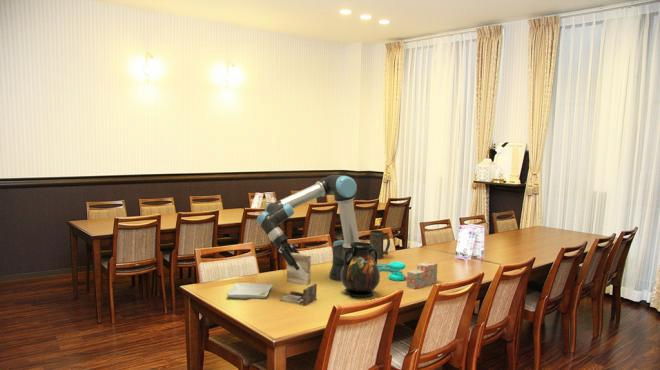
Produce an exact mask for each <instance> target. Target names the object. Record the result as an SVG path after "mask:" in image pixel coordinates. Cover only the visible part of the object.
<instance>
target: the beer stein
mask: <svg viewBox="0 0 660 370" xmlns="http://www.w3.org/2000/svg"><path fill="white" fill-rule="evenodd" d="M384 239H386V240H387V242H386V247H385V250H384ZM369 243H371V244H372V245H373V248H374V249H376V251H377V253H378V258H377V260H383V259H384V255H386V256H388V254H389V252H388V251H389V249H390V246H391V239H390V234H385V235H384V231H383V230H378V229H372V230H370V231H369ZM370 249H372V248H370ZM370 256H371V257H372V258H373V259H374V260H375V252H374V251H372V252H371V255H370Z"/></svg>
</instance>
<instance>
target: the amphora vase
mask: <svg viewBox="0 0 660 370" xmlns="http://www.w3.org/2000/svg"><path fill="white" fill-rule="evenodd" d="M350 247H352V248H353V250H351V249H347V250H346V251H345V254H344V265H343V267H342V270H341V281H340V282H341V283H342V285H343V287H344V288H345V289H344V294H345V295H347V296H349V297H350V298H352V299H353V298H355V299H368V298H372V297H374V295H375V289H376V288H377V287H378V285H380V281H381V280H380V279H381V271H380V272H379V269H378V266H377V264H378V259H377V258H378V253H377V251H376V249H374V248H373V245H372V244H371V243H370V242H366V241H361V242H353V243H350ZM370 248H372V249H370ZM350 251H351V253H352V255H351V256H350V257H349V258H348V259H347V254H348V252H350ZM372 251H374V252H375V259H373V258H372V257H371V256H370V255H371V252H372Z"/></svg>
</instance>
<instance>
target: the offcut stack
mask: <svg viewBox="0 0 660 370" xmlns="http://www.w3.org/2000/svg"><path fill="white" fill-rule="evenodd" d="M285 294H286V295H285ZM285 294H284V295H283V297H282V299H283V301H284V303H288V302H289V303H288V304H293V303H294V305H298V304H299V305H298V306H301V305H300V304H302V303H303V299H302V297H300V296H294V295H288V294H289V293H285ZM283 301H282V302H283Z"/></svg>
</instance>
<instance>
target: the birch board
mask: <svg viewBox="0 0 660 370" xmlns="http://www.w3.org/2000/svg"><path fill="white" fill-rule="evenodd" d="M299 253H300V252H299ZM299 253H291V255H292V256H293V258H294V260H295V261H296V263H297V262H298V264H299V265H300V266H301V268H302V269H303V270H304V271H305V273H304V274H303V275H302V276H301V275H300V274H299V272H298V271H297V270H296V269H295V267H294V266H292V267H291V266H290V265H289V264H288V263H287V262H286V283H291V284H295V285H303V286H308V285H309V286H310V285H311V268H312V267H311V266H312V265H311V263H312V262H311V261H312V256H311V254H307V253H306V254H305V253H300V254H299Z"/></svg>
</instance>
